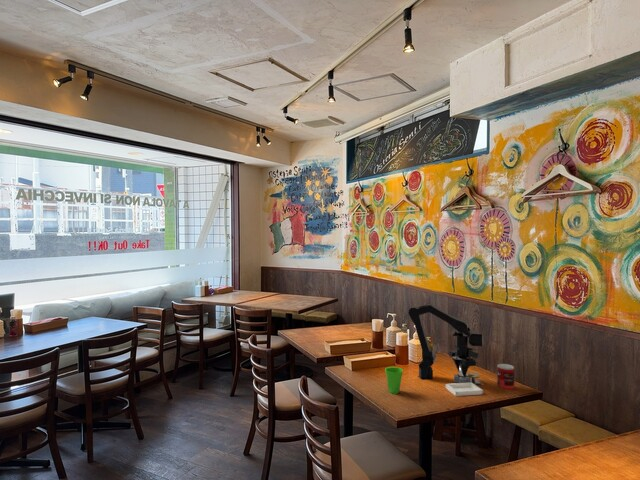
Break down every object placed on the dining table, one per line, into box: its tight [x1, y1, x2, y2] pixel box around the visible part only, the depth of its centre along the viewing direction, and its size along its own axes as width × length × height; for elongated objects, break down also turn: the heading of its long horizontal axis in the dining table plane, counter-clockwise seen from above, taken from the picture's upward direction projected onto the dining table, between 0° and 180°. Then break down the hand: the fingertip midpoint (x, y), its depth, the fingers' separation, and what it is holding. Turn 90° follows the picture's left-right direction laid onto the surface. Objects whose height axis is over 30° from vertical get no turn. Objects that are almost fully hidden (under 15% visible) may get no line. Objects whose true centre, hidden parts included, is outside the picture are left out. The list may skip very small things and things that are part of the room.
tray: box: [445, 382, 484, 397], centre depth 202 cm, size 14×11×2 cm
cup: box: [384, 366, 404, 395], centre depth 203 cm, size 9×9×11 cm
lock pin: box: [458, 366, 465, 377], centre depth 214 cm, size 3×3×9 cm
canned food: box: [496, 363, 515, 391], centre depth 208 cm, size 8×8×11 cm
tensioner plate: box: [452, 371, 485, 386], centre depth 214 cm, size 13×9×5 cm
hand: (462, 374), depth 214 cm, fingers open, 4 cm apart
